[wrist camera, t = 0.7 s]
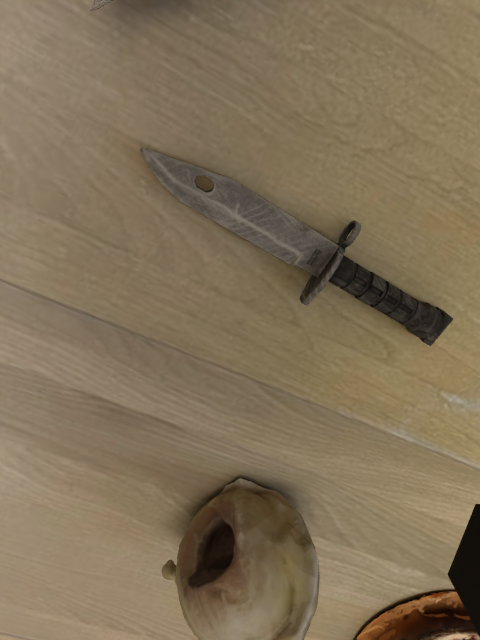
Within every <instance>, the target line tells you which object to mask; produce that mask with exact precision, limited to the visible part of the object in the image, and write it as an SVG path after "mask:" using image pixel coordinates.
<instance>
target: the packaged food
mask: <svg viewBox="0 0 480 640" xmlns="http://www.w3.org/2000/svg"><path fill="white" fill-rule="evenodd" d="M111 1H113V0H93V7H92V9H91V11H94V10H97V9H99V8H100V7H102V6H104V5H105V4H107V3H109V2H111Z"/></svg>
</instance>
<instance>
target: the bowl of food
mask: <svg viewBox="0 0 480 640" xmlns="http://www.w3.org/2000/svg"><path fill="white" fill-rule="evenodd" d="M448 592H449V591H447V592H439V593H438V594H437V593H433V595H432V594H431V595H430V596H427V597H426V595H424V596H423V597H421V599H419V600H413V601H411V602H408V603H405V604H402V605H398V606H396V607H395V608H394V609H392V610H388V611H386V612H385V613H383V614H381V615H380V616H379V617H378V618H376V619H374V620H373V621H372V622H370V624H368V625H367V626H366V627H365V628H364V629H363V631H362V632H361V633H360V635H359V636H358V637H357V639H356V640H480V637H479V635H478V633H477V631H476V629H475V627H474V625H473V624H472V622H471V620H470V618H469V616H468V614H467V612H466V610H465V608H464V606H463V604H462V602H461V600H460V598H459V596H458V594H457V592H452V591H450V592H449V593H448Z"/></svg>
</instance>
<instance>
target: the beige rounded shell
mask: <svg viewBox="0 0 480 640" xmlns="http://www.w3.org/2000/svg"><path fill="white" fill-rule="evenodd" d="M162 575H163V576H164V578H166V579H169V580H174V581H175V583H176V585H177V589H178V594H179V601H180V605H181V608H182V610H183V615H184V617H185V620H186V621H187V623H188V625H189V627H190V628H191V630H192V632H193V633H194V635H195V636H196V637H197V638H198V639H199V640H304V638H305V635H306V633H307V631H308V628H309V626H310V622H311V620H312V618H313V616H314V614H315V611H316V607H317V602H318V592H319V563H318V559H317V554H316V551H315V547H314V544H313V542H312V539H311V537H310V534H309V532H308V530H307V527H306V525H305V523H304V521H303V518H302V516H301V514H300V513H299V512H298V511H297V510H296V508H295V507H293V506H292V505H291V504H290V503H289V502H288V501H287V500H286V499H285V498H284V497H283V496H282V495H281V494H280V493H279V492H276V491H273V490H270V489H264V488H262V487H260V486H258V485H256V484H255V483H253V482H251V481H246V480H243V479H238V480H236V481H235V482H234V483H230V484H228V485H226V486H225V488H224V490H223V491H222V492H221V493H220V494H219V495H218V496H216V497H214V498H213V499H212V500H210V501H208V502H207V503H206V504H205V506H204V507H203V508H202V509H200V510H199V512H198V513H197V514H196V515H195V516H194V518H193V519H192V521H191V523H190V525H189V527H188V529H187V531H186V533H185V535H184V537H183V539H182V541H181V543H180V546H179V551H178V556H177V566H176V565H175V564H174V562H173V561H172V560H169V561H168V562H167V563H166V564H165V565H164V566H163V568H162Z"/></svg>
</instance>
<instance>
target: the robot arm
mask: <svg viewBox="0 0 480 640" xmlns="http://www.w3.org/2000/svg"><path fill="white" fill-rule="evenodd" d="M448 576H449V578H450V580H451V582H452V584H453V586H454V588H455V590H456V592H457V594H458V596H459V598H460V600H461V602H462V604H463V606H464V608H465V610H466V612H467V614H468V616H469V618H470V620H471V622H472V624H473V625H474V627H475V629H476V631H477V633H478V635H479V637H480V504H476V505H475V507H474V510H473V512H472V515H471V517H470V520H469V522H468V525H467V527H466V530H465V532H464V535H463V537H462V540H461V542H460V545H459V547H458V550H457V552H456V555H455V557H454V560H453V562H452V565H451V567H450V570H449V572H448Z"/></svg>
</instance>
